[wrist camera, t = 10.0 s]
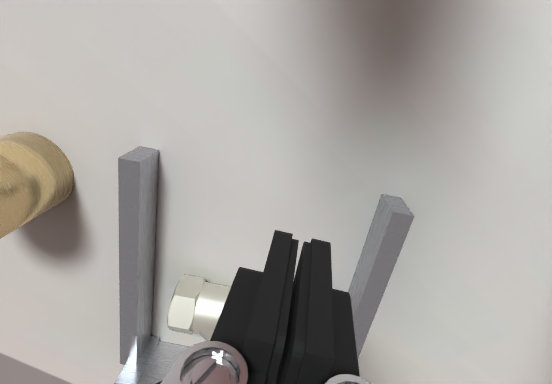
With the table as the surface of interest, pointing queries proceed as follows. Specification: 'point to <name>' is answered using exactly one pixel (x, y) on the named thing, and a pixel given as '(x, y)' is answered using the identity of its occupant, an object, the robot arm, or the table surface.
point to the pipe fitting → (196, 306)
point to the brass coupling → (30, 178)
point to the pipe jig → (140, 268)
